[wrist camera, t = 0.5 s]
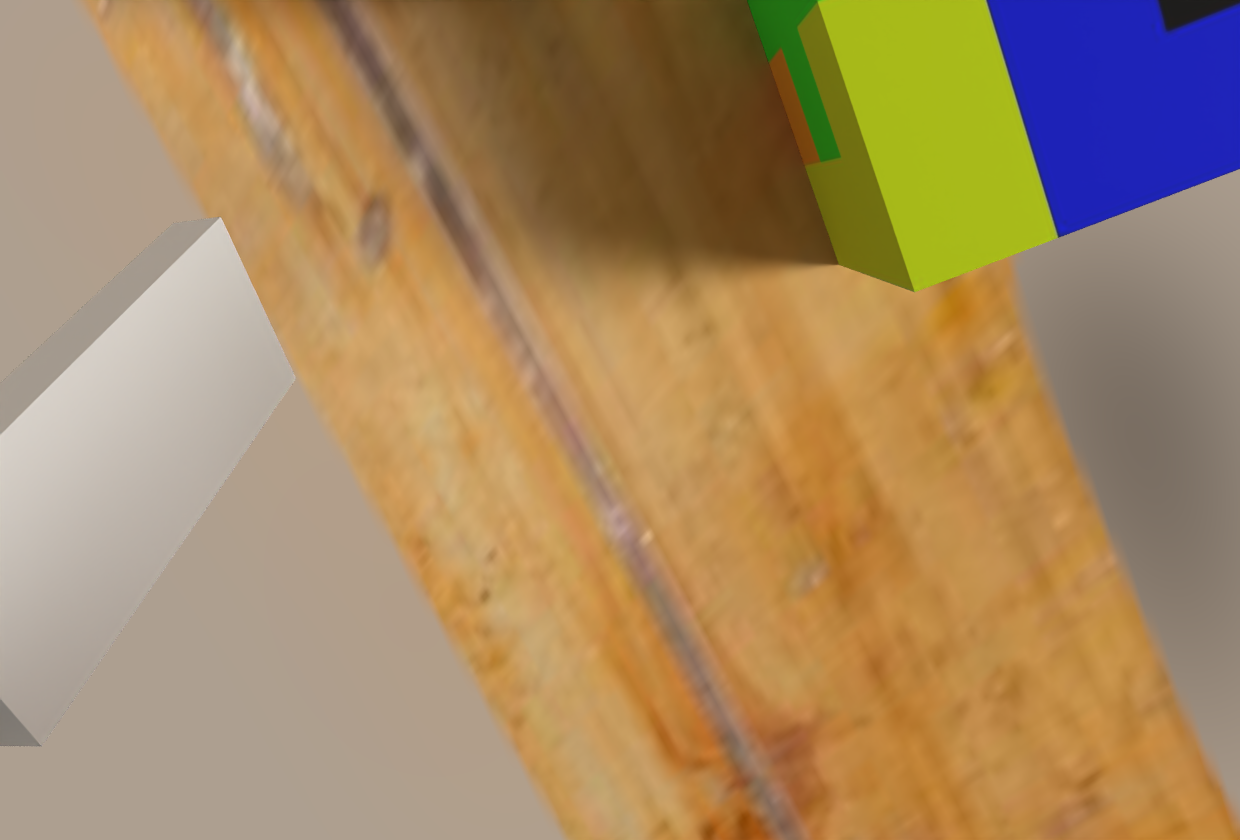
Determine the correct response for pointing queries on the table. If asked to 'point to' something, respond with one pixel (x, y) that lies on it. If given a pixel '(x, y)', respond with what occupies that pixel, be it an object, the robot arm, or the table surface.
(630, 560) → the table surface
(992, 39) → the puzzle toy
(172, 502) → the robot arm
